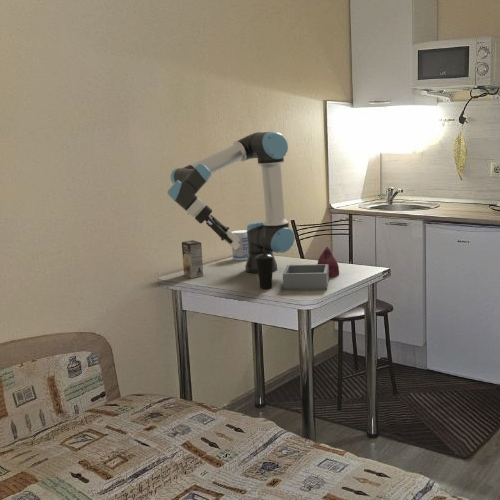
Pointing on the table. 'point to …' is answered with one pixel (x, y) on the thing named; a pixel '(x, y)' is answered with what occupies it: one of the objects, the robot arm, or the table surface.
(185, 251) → the coffee box
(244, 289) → the table surface
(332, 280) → the table surface
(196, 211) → the robot arm
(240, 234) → the supplement tub
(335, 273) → the vegetable
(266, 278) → the drinking cup
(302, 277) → the bin
